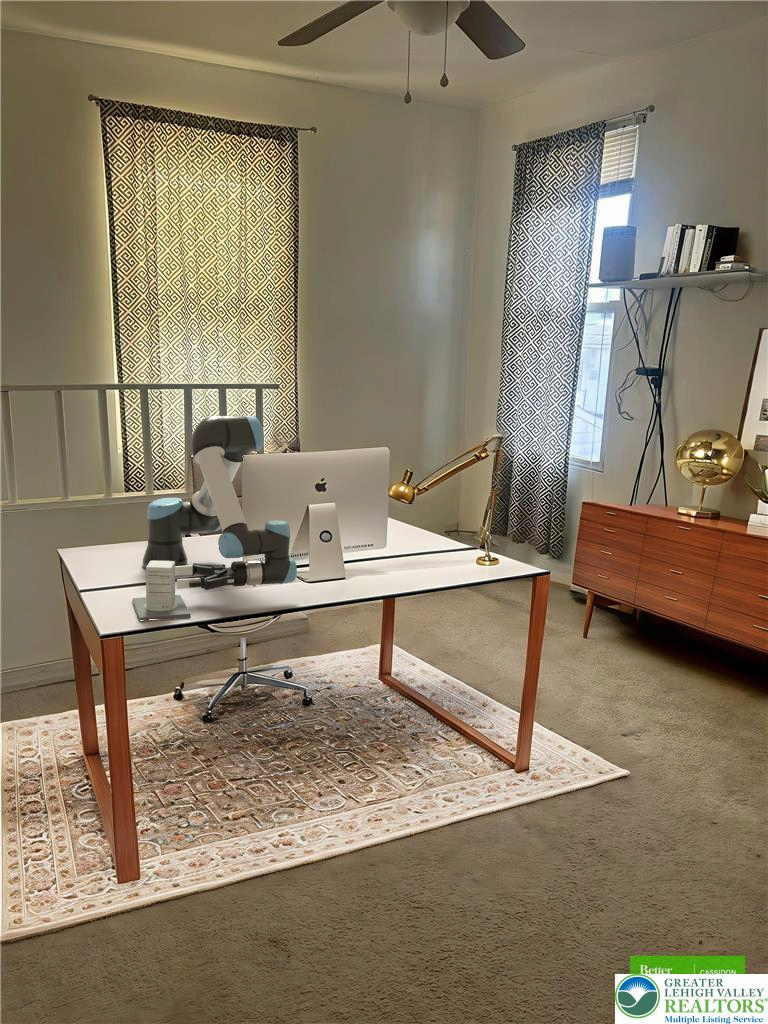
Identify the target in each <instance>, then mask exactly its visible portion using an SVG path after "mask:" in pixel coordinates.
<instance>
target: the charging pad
mask: <svg viewBox="0 0 768 1024" xmlns="http://www.w3.org/2000/svg"><path fill="white" fill-rule="evenodd" d="M132 604H133V608H134V610H135V609H136V610H135V612H137V613H136V614H137V615H136V616H137V618H138V617H139V618H138V621H139V620H149V619H167V620H179V619H188V618H189V619H190V618H191V612H190V609H188V608H189V607H187V605H186V603H185V601H184V599H183V597H182V595H181V594H175V603H174V605H173V607H172V609H147V608H146V596H143V597H132ZM175 618H176V619H175ZM177 618H178V619H177Z"/></svg>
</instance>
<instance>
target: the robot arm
mask: <svg viewBox="0 0 768 1024" xmlns="http://www.w3.org/2000/svg"><path fill="white" fill-rule="evenodd" d="M264 440H265V436H264V429H263V426H262V424H261V422H260V421H259V419H258V418H257V417H256V416H253V415H246V414H244V415H211V416H208V417H205V418H203V419H202V420H201V421H200V422H199V423H198V424H197V425H196V427H195V429H194V431H193V433H192V436H191V445H190V446H191V448H190V449H191V453H192V457H193V459H194V462H195V463H196V464H199V467H200V470H201V473H202V475H203V479H204V480H203V483H202V486H201V487H200V489H199V490H198V491H195V493H194V494H193V495H192V496H191V499H190V500H188V501H183V499H182V498H180V497H174V496H173V497H164V498H163V497H162V498H159V499H155V500H153V501H152V502H151V501H150V503H149V504H148V506H147V515H146V517H147V518H146V519H147V545H146V549H145V551H144V555H143V557H142V567H143V566H144V567H145V568H144V567H143V568H144V569H146V567H147V565H148V564H149V562H150V561H175V577H176V576H190V575H192V576H195V575H201V576H200V577H194V578H193V577H192V578H179V579H178V578H177V579H176V589H177V590H183V589H184V590H185V589H198V588H201V589H203V590H204V591H209V590H212V589H216V588H222V587H226V586H233V587H244V586H246V585H247V586H252V587H257V586H260V585H282V584H289V583H290V584H291V583H293V582H295V580H296V579H297V576H298V569H297V563H296V560H295V559H294V558H290V543H291V540H290V538H291V529H290V528H291V526H290V524H289V523H288V522H287V521H286V520H276V519H275V520H268V521H266V522H265V525H264V528H262V529H254V530H253V529H252V530H250V529H249V527H248V525H247V522H246V519H245V516H244V514H243V510H242V507H241V505H240V502H239V499H238V495H237V492H236V491H235V487H234V484H233V480H234V479H235V476H236V474H237V472H238V469H239V468H240V466H241V463H244V462H243V457H244V456H243V455H252V452H254V453H256V452H259V451H261V450H262V449H263V447H264V442H265V441H264ZM242 456H243V457H242ZM219 530H221V531H222V533H221V534H220V535H219V537H218V539H217V540H218V542H217V544H218V551H219V553H220V555H221V556H222V557H223V558H225V559H240V558H244V557H251V556H260V555H263V556H264V559H261V560H260V559H257V560H256V559H254V560H246V561H243V560H241V561H240V560H239V561H237V560H236V561H232V562H231V564H230V567H226V564H225V563H223V564H213V563H201V562H200V563H199V562H194V563H192V564H191V565H188V556H187V554H186V551H185V548H184V545H183V535H185V536H186V535H196V534H203V533H204V534H207V533H213V532H217V531H219ZM186 565H187V566H186ZM204 576H206V577H204Z"/></svg>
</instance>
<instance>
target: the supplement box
mask: <svg viewBox="0 0 768 1024" xmlns="http://www.w3.org/2000/svg"><path fill="white" fill-rule="evenodd" d="M145 585H146V586H145V591H146V592H145V593H146V594H145V597H146V608H147V609H172V607H173V605H174V603H175V595H176V576H175V561H150V562H149V564H148V565H147V567H146V568H145Z"/></svg>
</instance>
